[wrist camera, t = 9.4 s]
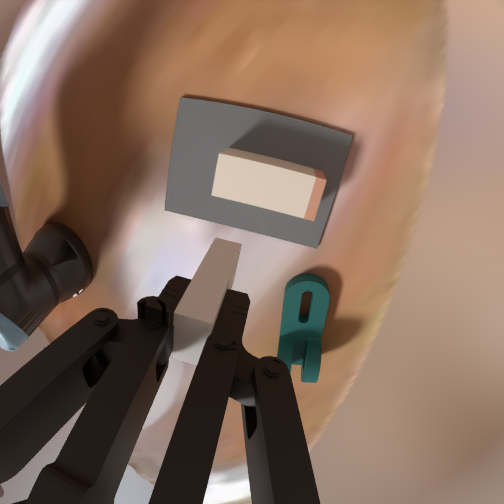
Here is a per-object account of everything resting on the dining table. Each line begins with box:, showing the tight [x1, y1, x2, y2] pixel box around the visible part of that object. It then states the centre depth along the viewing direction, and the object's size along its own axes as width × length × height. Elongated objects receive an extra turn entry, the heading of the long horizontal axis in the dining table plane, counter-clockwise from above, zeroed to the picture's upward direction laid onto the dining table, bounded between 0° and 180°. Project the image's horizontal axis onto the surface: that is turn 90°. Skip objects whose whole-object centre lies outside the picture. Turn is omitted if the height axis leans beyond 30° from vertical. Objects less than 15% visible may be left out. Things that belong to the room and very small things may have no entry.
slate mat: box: [165, 97, 353, 249], centre depth 36 cm, size 22×16×1 cm
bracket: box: [277, 273, 330, 383], centre depth 43 cm, size 18×7×8 cm, turn 179°
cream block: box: [212, 148, 327, 221], centre depth 33 cm, size 5×5×12 cm
